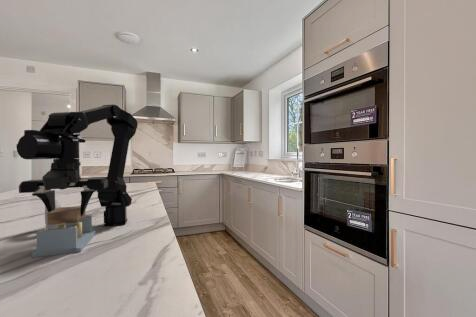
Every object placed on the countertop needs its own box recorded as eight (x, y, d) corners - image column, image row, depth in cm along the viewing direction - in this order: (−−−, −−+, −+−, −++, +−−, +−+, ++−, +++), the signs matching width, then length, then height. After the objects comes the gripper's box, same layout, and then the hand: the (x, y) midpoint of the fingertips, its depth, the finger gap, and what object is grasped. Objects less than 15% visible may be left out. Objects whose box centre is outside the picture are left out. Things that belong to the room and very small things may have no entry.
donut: (62, 232, 73) (62, 200, 73) (48, 235, 71) (48, 202, 70) (57, 226, 80) (56, 196, 80) (44, 228, 77) (43, 198, 77)
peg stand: (95, 233, 72) (95, 214, 71) (80, 251, 58) (80, 227, 58) (56, 237, 68) (56, 217, 68) (31, 257, 55) (31, 232, 55)
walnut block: (85, 216, 67) (85, 205, 67) (77, 222, 61) (77, 211, 61) (58, 218, 65) (58, 207, 65) (47, 224, 59) (47, 213, 59)
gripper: (3, 159, 52) (5, 229, 53) (98, 158, 58) (99, 221, 59) (30, 159, 63) (31, 216, 63) (107, 158, 69) (108, 211, 69)
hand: (67, 216), depth 63 cm, fingers closed on walnut block, 6 cm apart
